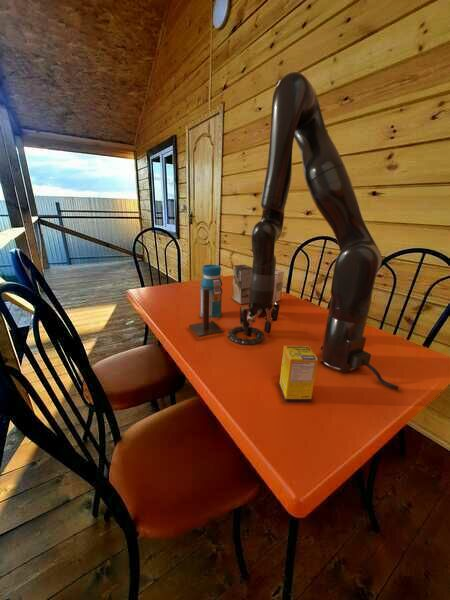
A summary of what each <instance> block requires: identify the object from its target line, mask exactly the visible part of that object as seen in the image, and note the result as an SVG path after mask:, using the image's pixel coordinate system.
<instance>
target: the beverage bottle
mask: <svg viewBox="0 0 450 600" xmlns="http://www.w3.org/2000/svg"><path fill="white" fill-rule="evenodd" d="M221 270H222V268H221V266H220V265H218V264H204V265H203V266H202V276H203V277H202V278H201V280H200V289H199V293H200V313H199V314H200V317H203V288H209V319H213V318H218V317H221V315H222V299H223V288H222V286H223V281H222V280H221V278H220V276H221V273H222V271H221Z"/></svg>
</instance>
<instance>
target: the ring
mask: <svg viewBox="0 0 450 600" xmlns="http://www.w3.org/2000/svg"><path fill="white" fill-rule="evenodd" d="M243 332H245V327H244V326H243V325H240V326H235V327H233V328H231V329H230V330H228V332H227V339H229V340H230V342H232V343H233V344H234V343H235V344H237V345H240V346H256V345H260V344H262V343H263V342H264V341H265V334H264V332H263V331H261V330H260V329H259V328H256V327H253V326H252V334H254V335H255V336H256V337H255V338H250V339H248V338H241V337H238V336H236V335H237V334H238V333H243Z"/></svg>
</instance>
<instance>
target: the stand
mask: <svg viewBox="0 0 450 600" xmlns="http://www.w3.org/2000/svg"><path fill="white" fill-rule="evenodd" d="M188 327H189V328H190V329H191V330H192V332H193V333H194V334H195V335H196V336H197V337H198V338H201V337H206V336H210V335H215V334H221V333H224V330H223V328H220V327H219V326H218V324H217V323H215V322H214V321H213V320H211V321H210V318H209V288H203V316H202V322H197V323H193V324H188Z"/></svg>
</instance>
